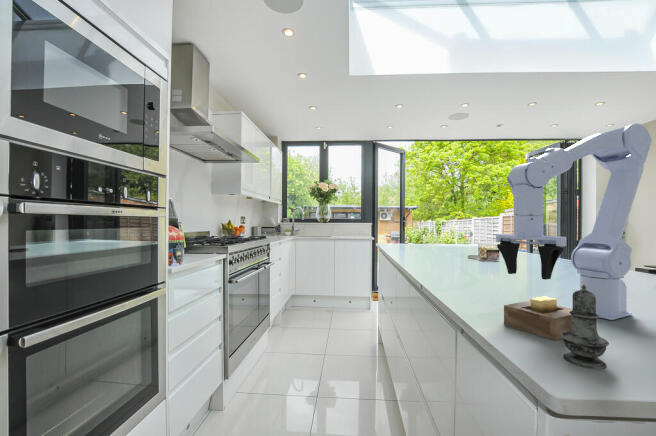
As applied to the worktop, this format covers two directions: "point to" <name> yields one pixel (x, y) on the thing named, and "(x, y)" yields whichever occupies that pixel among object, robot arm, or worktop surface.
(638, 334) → the worktop surface
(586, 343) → the salt shaker
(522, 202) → the robot arm
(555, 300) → the block
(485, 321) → the worktop surface
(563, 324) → the walnut box
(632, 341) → the worktop surface
